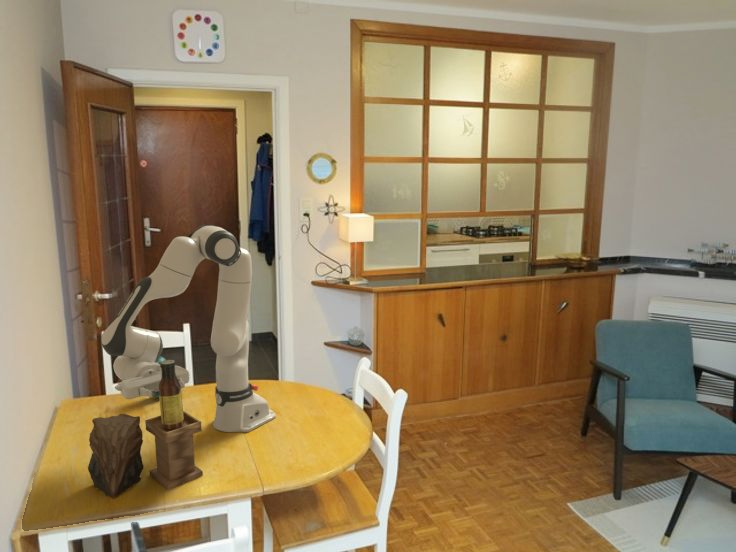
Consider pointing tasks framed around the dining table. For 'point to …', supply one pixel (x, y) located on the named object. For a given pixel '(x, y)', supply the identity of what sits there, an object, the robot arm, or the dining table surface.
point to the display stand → (174, 451)
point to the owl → (115, 453)
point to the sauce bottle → (170, 397)
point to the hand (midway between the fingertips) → (167, 389)
